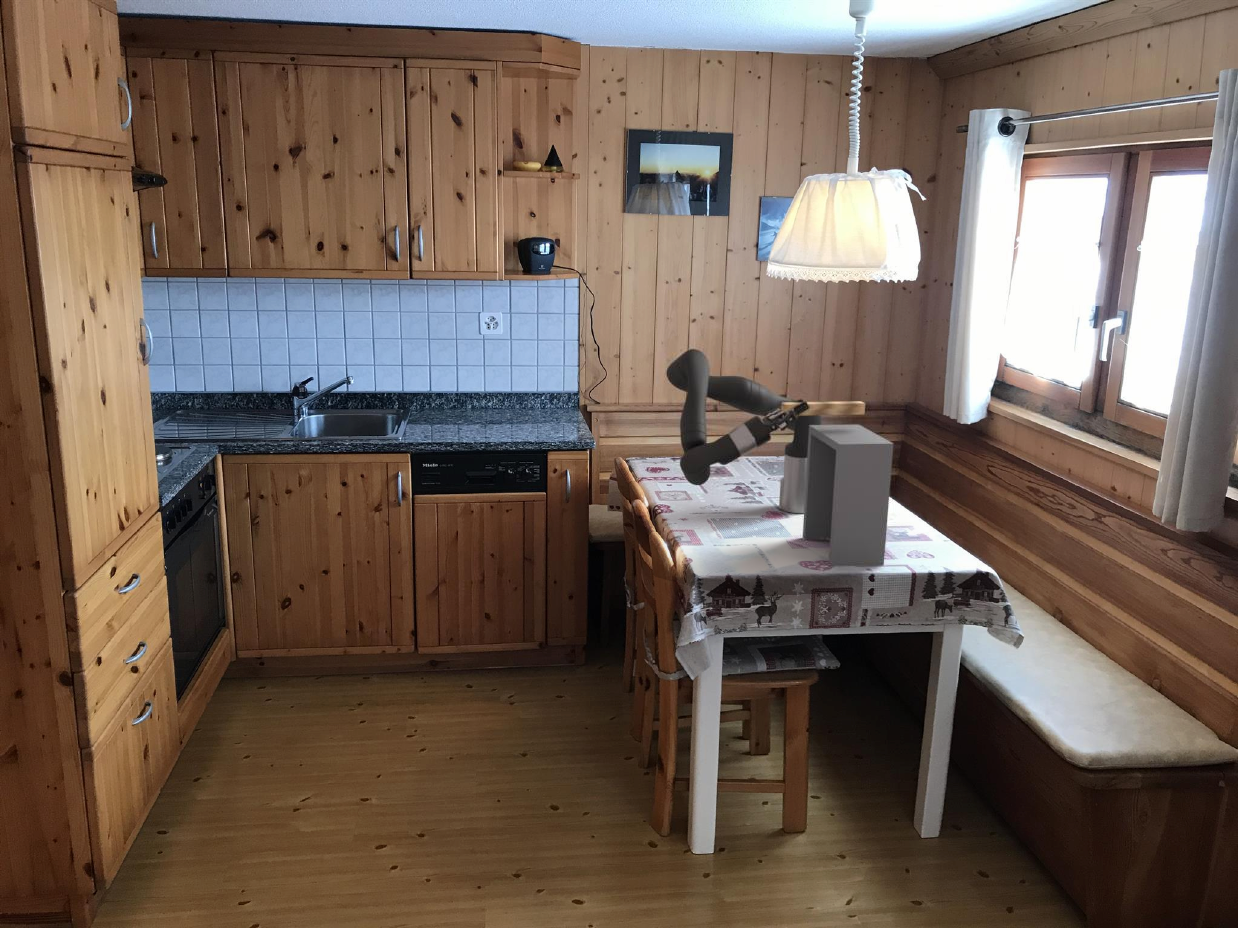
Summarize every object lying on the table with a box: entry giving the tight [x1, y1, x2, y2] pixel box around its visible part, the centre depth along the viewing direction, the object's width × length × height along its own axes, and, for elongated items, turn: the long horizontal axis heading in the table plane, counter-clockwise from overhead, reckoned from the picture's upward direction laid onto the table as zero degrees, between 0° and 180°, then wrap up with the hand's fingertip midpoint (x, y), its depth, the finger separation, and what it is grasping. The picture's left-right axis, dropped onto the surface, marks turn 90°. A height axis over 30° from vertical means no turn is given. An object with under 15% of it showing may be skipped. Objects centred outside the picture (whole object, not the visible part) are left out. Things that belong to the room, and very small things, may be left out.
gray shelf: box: [802, 424, 894, 567], centre depth 267 cm, size 14×24×32 cm, turn 8°
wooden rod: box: [781, 400, 866, 416], centre depth 268 cm, size 22×3×3 cm, turn 98°
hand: (805, 403), depth 267 cm, fingers closed on wooden rod, 3 cm apart
